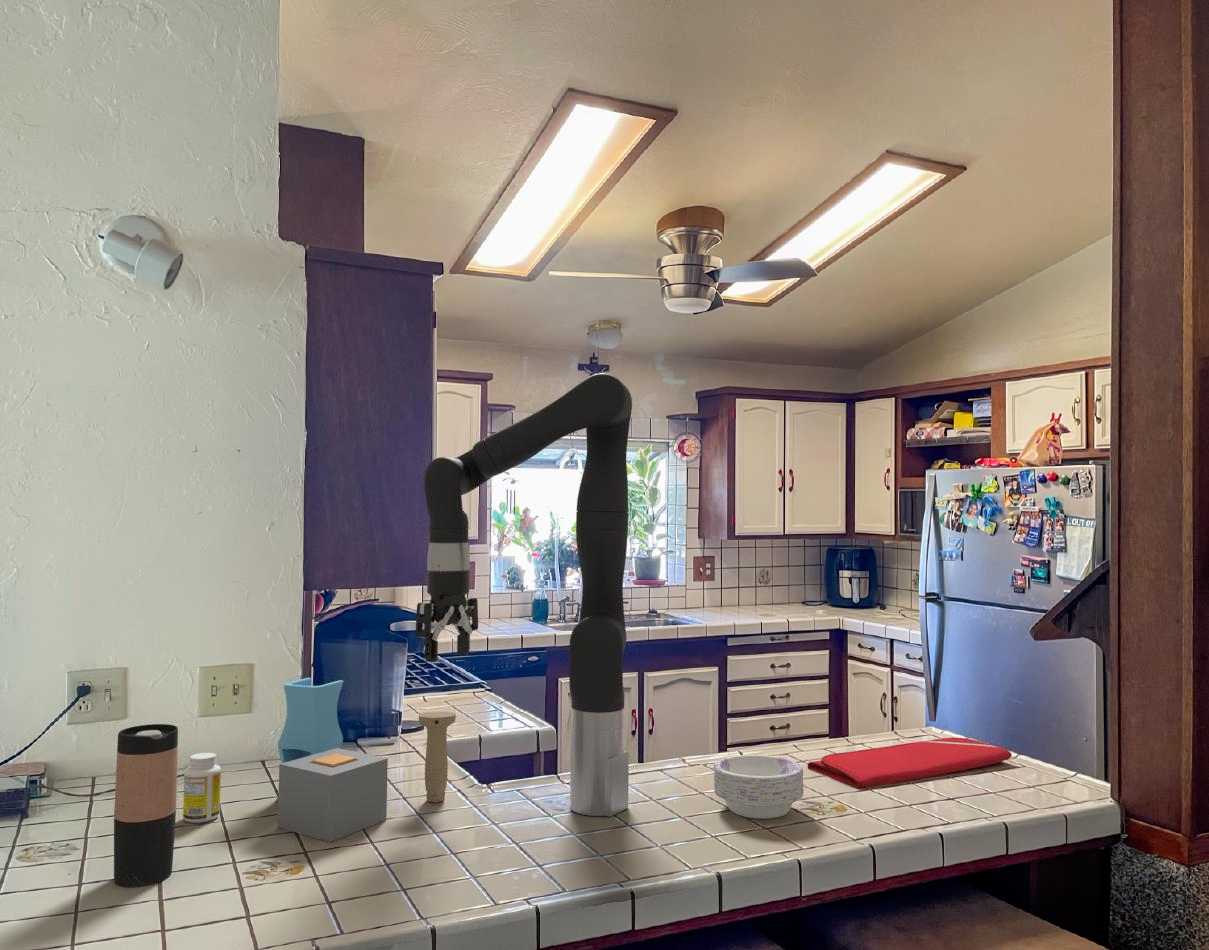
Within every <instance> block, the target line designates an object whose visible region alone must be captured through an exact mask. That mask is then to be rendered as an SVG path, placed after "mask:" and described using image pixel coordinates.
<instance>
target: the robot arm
mask: <svg viewBox="0 0 1209 950" xmlns="http://www.w3.org/2000/svg"><path fill="white" fill-rule="evenodd" d="M632 409H633V399H632V396H631V392H630V390H629V388H628V387H627V386H626V385H625V383H624V382H622V381H621V380H620V379H619V378H617V377H616V376H615V375H612V374H609V373H603V372H601V373H600V372H599V373H594V374H592V375H590V376H589V377H587V378H586V379H584V380H582V381H581V382H579V383H578V384H577V385H575V386H574V387H573V388H571V389H570V390H569V391H567V392H566V393H565V394H563V395H562V396H560V397H559V398H557V399H556V400H554V401H553V402H551V403H549V404H548V405H546V406H544V407H543V408H541V409H540V410H538V411H536V412H534V413H533V414H531V415H528V416H527V417H525V418H522V419H520V420H519V421H516V422H515V423H513V424H511V425H508V426H507V427H504V428H502V429H500V430H497V431H495V432H493V433H492V434H490V435H488V436H486V437H484V438H482V439H480V440H479V441H477V442H476V443H475V444H474V445H473V446H472V449H470V450H468V451H467V452H465V453H463V454H461V455H459V456H457V457H454V458H453V457H448V456H440V457H437V458H434V459H432V460H431V461H430V463H429V464H428V465H427V467H426V470H425V472H424V477H423V478H424V479H423V480H424V481H423V487H424V488H423V489H424V495H425V497H424V498H425V501H426V507H427V513H428V515H429V525H428V526H429V527H428V529H429V530H428V532H429V533H428V534H429V537H428V542H429V543H428V550H427V563H426V564H427V569H426V570H427V571H426V572H427V573H426V574H427V575H426V576H427V577H426V579H427V580H426V581H427V582H426V585H427V586H426V588H427V589H426V592H427V594H428V595H429V596H430V601H429V602H418V603H417V604H416V616H415V617H416V618H415V619H416V622H415V637H417V638H420V639H422V640H423V641H424V654H423V655H424V659H425V661H426V662H427V663H428V662H429V663H435V662H438V656H439V655H438V651H439V649H438V647H439V641H438V638H439V636H440V634H441V632H442V631H443V630H445V628H446V626H453V627H455V630H456V631H457V633H458V634H457V637H456V638H457V639H456V640H457V641H456V643H457V645H456V646H457V647H456V649H457V650H456V653H457V656H460V657H461V656H462V657H465V656H466V657H467V656H469V654H470V647H471V646H470V643H471V641H470V640H471V638H470V637H471V634H472V633H473V632H474V631H477V630H478V629H479V609H478V608H479V607H478V606H479V605H478V598H476V597H466V595H468V594H469V593H470V572H471V571H470V569H471V568H470V564H471V563H470V562H471V561H470V559H471V556H470V548H469V517H468V514H467V513H466V512H465V511H464V508H463V500H462V496H463V495H466V494H469V493H470V492H472V491H473V490H476V489H477V488H479V487H480V486H482V485H483V484H484V483H486V482H488V481H489V480H490V479H492V478H493V477H495V476H499V475H501V474H502V473H505V472H507V471H509V470H510V469H513V468H515V467H517V466H520V465H521V464H523V463H525V462H527V461H528V460H530V459H532V458H533V457H535V456H536V455H538V453H540V452H541V451H543V450H544V449H546V448H547V447H549V446H551V445H552V444H553V443H555V442H557V441H558V440H560V439H561V438H564V437H566V436H568V435H571V434H572V433H575V432H578V431H581V430H584V429H586V433H585V434H586V458H585V465H584V467H583V472H582V476H581V480H580V481H581V482H580V484H579V487H578V488H579V489H578V494H577V499H576V500H577V501H576V510H575V511H576V512H575V513H576V515H575V516H576V518H575V520H576V521H575V540H576V548H577V555H578V556H577V557H578V562H579V563H578V564H579V567H580V568H579V569H580V573H581V580H582V581H581V582H582V583H581V585H582V590H581V591H582V592H581V593H582V594H581V603H580V604H581V606H580V612H579V613H580V614H579V619H578V623H577V624H576V625H575V626H574V628H573V629H572V631H571V634H570V638H569V645H568V646H569V647H568V653H569V654H568V657H569V658H568V663H569V664H568V665H569V666H568V667H569V668H568V669H569V670H568V671H569V673H568V674H569V677H568V679H569V680H568V681H569V682H568V684H569V692H570V697H571V698H570V699H571V704H570V705H571V709H570V712H571V716H570V719H571V720H570V724H571V725H570V727H571V728H570V795H569V796H570V798H569V799H570V801H569V803H570V807H569V808H570V810H571V811H573V812H575V813H577V814H580V815H584V816H591V817H592V816H594V817H598V816H599V817H600V816H601V817H604V816H605V817H608V818H609V817H613V816H614V815H617V814H618V813H620V812H622V811H624V810H626V809H628V808H629V778H630V777H629V774H630V772H629V771H630V769H629V767H630V766H629V765H630V764H629V763H630V762H629V761H630V760H629V757H630V755H629V752H628V751H627V750H625V691H624V682H623V681H624V680H623V679H624V677H623V673H624V661H623V660H624V651H625V649H626V645H627V632H626V631H627V630H626V621H625V620H626V619H625V609H624V591H623V590H624V577H625V576H624V575H625V571H626V570H625V569H626V559H627V549H628V535H629V484H628V483H629V480H628V468H627V464H628V463H627V451H628V443H629V441H628V439H629V433H630V423H631V417H632ZM423 627H424V629H423Z"/></svg>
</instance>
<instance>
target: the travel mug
mask: <svg viewBox="0 0 1209 950" xmlns="http://www.w3.org/2000/svg"><path fill="white" fill-rule="evenodd" d="M178 738H179V729H178V726H177V725H173V724H168V723H167V724H166V723H165V724H164V723H154V724H153V723H152V724H143V725H137V726H130V727H127V728H124V729H121V730H120V731H118V733H117V746H116V747H117V748H116V750H117V751H116V769H115V789H114V791H115V793H114V814H113V818H114V819H113V881H114V883H115V885H117V886H119V887H123V888H139V887H146V886H151V885H154V884H158V883H160V882H162V881H165V880H166V879H167V878H170V877H171V875H172V873H173V863H174V848H175V846H174V845H175V833H176V831H175V830H176V818H177V797H178V796H177V791H178V790H177V789H178V786H177V785H178V753H179V752H178V749H179V748H178V746H179V745H178V744H179V739H178Z"/></svg>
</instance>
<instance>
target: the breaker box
mask: <svg viewBox="0 0 1209 950" xmlns="http://www.w3.org/2000/svg"><path fill="white" fill-rule="evenodd" d="M333 754H339V755H344V756H349V757H354V758H356V761H354V762H350V763H347V764H344V765H340V766H337V767H334V768H332V767H327V766H323V765H318V764H314V763H313V760H315V759H319V758H322V757H326V756H329V755H333ZM388 763H389V760H388V758H387V757H383V756H378V755H374V754H373V755H372V754H368V753H365V752H364V753H363V752H359V751H358V752H357V751H354V750H353V751H352V750H349V749H344V748H341V749H339V748H336V749H332V750H328V751H325V752H321V753H318V754H314V755H310V756H307V757H303V758H299V759H296V760H292V761H288V762H285V763H281V762H280V763H279V768H278V769H279V770H278V793H279V797H278V796H277V797H278V799H277V801H278V805H277V828H280V829H283V830H286V831H290V832H293V833H297V834H299V835H300V834H301V835H304V836H306V837H307V836H308V837H310V838H314V839H318V840H321V841H325V842H332V841H335V840H338V839H341V838H343V837H345V836H348V835H352V834H354V833H356V832H358V831H362V830H363V829H367V828H368V827H369V828H370V827H371V826H373V825H377V824H379V823H382V822H385V821H387V815H388V813H387V809H388V808H387V807H388V767H389V766H388Z"/></svg>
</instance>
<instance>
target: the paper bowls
mask: <svg viewBox="0 0 1209 950" xmlns="http://www.w3.org/2000/svg"><path fill="white" fill-rule="evenodd" d="M803 779H804V770H803V766H802V765H801V764H800V763H798V762H797V761H795V760H792V759H789V758H786V757H781V756H775V755H766V754H765V755H764V754H740V755H733V756H728V757H724V758H721V759H719V760H717V761H716V762H715V763H714V765H713V785H714V786H713V788H714V794H715V795H716V796H718V797H719V798H720V799H722V800H724V801H725V804H726V807H727V808H728V809H729V811H731V812H732V813H734V814H736V815H738V816H739V817H740V816H741V817H744V818H748V819H757V820H770V819H771V820H772V819H777V818H781V817H783V816H785V815H787V813H788V812H789V811H790V810H791V808H792V806H793V803H795V802H797V801H800V800H801V799H803V796H804V780H803Z"/></svg>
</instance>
